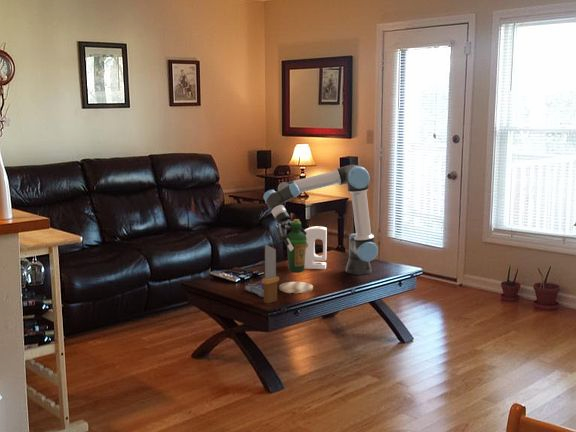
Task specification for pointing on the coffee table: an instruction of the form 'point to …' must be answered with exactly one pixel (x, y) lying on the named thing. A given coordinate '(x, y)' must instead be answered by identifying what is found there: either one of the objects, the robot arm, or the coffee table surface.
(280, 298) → the coffee table surface
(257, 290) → the toy gun
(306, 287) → the serving board
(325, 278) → the coffee table surface
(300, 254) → the bottle
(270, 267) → the knife
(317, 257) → the bracket
